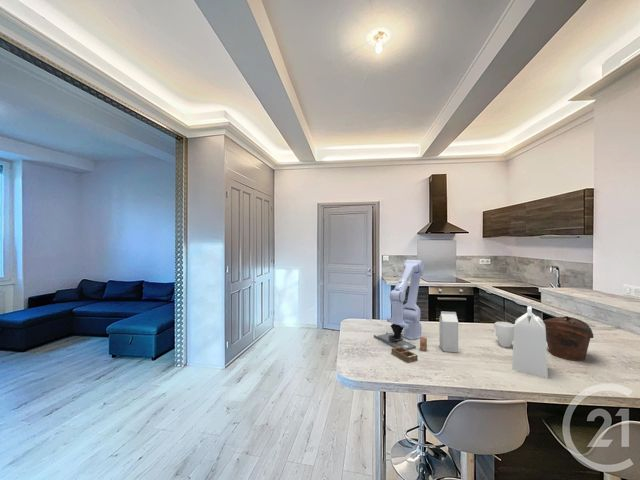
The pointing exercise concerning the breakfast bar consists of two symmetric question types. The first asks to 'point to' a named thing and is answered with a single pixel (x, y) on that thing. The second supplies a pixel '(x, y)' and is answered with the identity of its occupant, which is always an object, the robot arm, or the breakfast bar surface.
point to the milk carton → (448, 331)
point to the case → (568, 337)
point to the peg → (423, 344)
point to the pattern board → (398, 343)
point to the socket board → (404, 354)
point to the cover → (389, 337)
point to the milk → (530, 345)
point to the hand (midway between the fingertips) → (397, 338)
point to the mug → (504, 333)
